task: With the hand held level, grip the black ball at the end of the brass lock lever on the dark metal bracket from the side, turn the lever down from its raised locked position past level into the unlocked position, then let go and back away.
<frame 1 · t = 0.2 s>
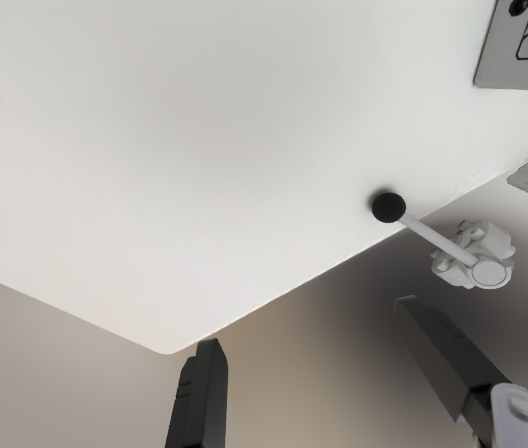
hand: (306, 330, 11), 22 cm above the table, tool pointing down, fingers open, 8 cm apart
electrical switch: (510, 27, 24), on the table
valve: (418, 222, 38), on the table
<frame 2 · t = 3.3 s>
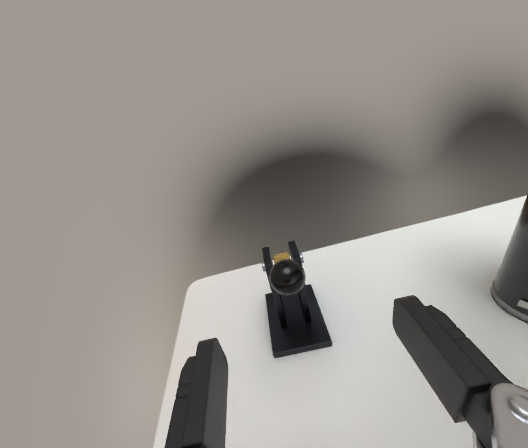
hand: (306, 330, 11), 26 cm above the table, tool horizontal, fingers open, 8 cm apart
lock bracket: (295, 319, 41), on the table
lock lever: (284, 268, 29), point 16 cm above the table, hinge at 32.0°
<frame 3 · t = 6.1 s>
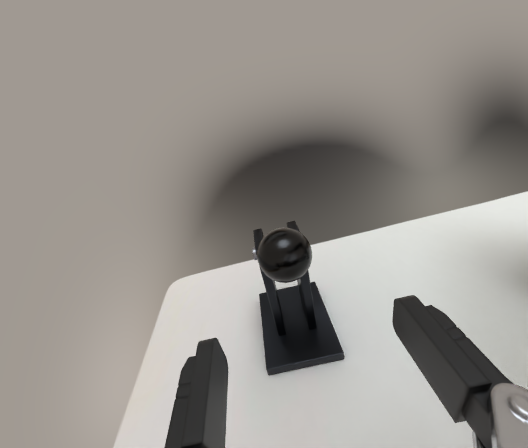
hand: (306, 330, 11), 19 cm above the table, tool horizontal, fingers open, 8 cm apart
lock bracket: (295, 324, 33), on the table
lock lever: (281, 250, 21), point 16 cm above the table, hinge at 32.0°
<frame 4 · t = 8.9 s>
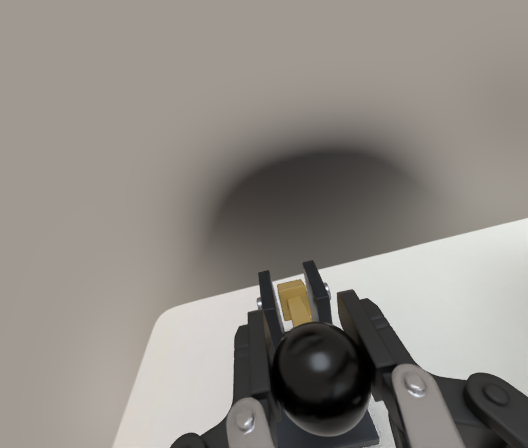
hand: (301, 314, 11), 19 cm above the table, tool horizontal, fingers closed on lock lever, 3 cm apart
lock bracket: (310, 382, 26), on the table
lock lever: (301, 322, 14), point 16 cm above the table, hinge at 32.0°, touching gripper
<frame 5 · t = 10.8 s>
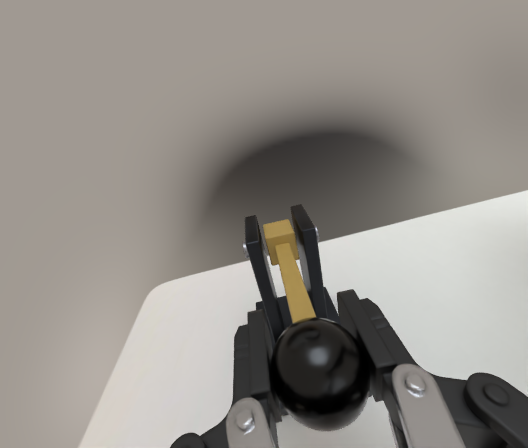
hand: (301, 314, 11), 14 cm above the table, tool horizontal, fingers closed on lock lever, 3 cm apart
lock bracket: (302, 343, 25), on the table
lock lever: (293, 283, 14), point 14 cm above the table, hinge at 5.4°, touching gripper
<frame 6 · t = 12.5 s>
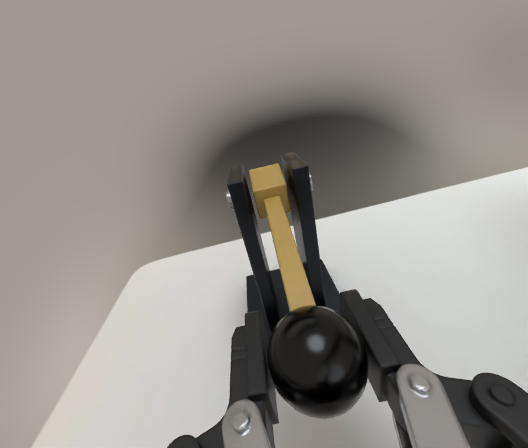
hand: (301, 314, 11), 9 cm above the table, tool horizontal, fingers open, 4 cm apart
lock bracket: (295, 315, 23), on the table
lock lever: (286, 250, 13), point 12 cm above the table, hinge at -15.1°
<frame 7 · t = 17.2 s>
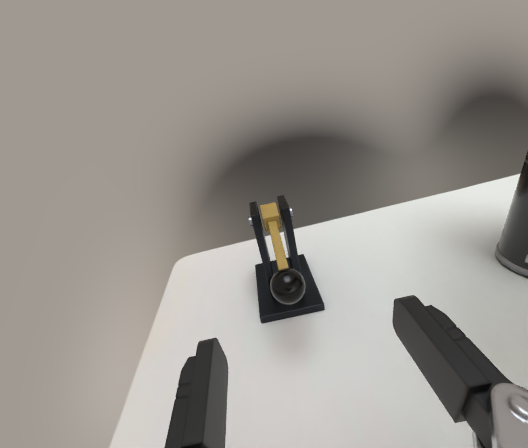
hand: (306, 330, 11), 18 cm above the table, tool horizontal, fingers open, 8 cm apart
lock bracket: (285, 287, 39), on the table
lock lever: (278, 247, 28), point 12 cm above the table, hinge at -15.1°
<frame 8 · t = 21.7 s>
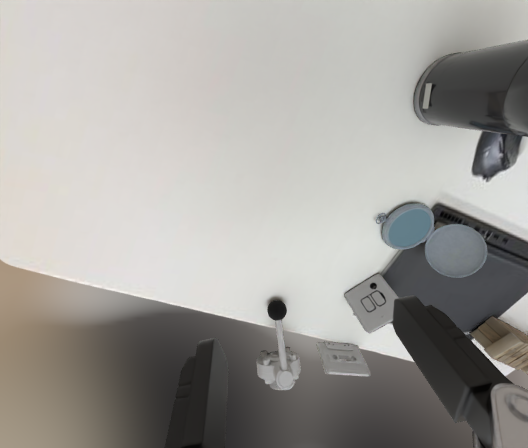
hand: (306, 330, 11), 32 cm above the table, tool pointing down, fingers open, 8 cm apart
cassette: (336, 343, 64), on the table
pocket watch: (405, 224, 48), on the table
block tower: (505, 337, 69), on the table
electrical switch: (366, 288, 55), on the table
valve: (274, 329, 59), on the table
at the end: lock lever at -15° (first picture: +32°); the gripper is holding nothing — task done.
